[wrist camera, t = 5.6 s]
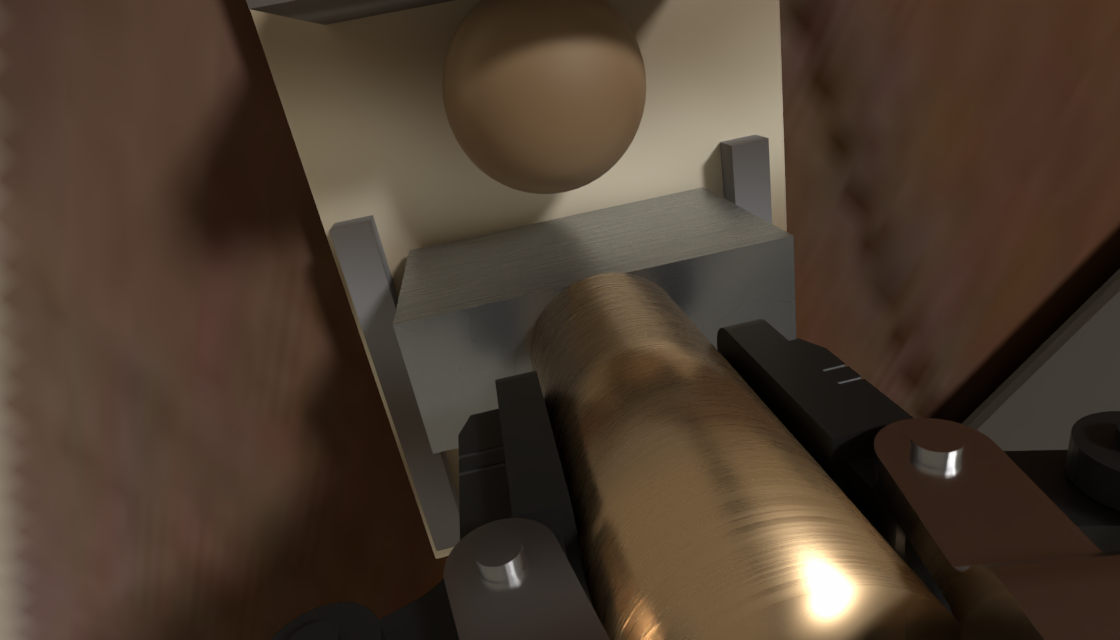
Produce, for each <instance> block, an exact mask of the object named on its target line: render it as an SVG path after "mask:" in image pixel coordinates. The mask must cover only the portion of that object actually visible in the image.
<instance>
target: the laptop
mask: <svg viewBox="0 0 1120 640" xmlns="http://www.w3.org/2000/svg"><path fill="white" fill-rule="evenodd" d="M1107 411H1120V268H1119V269H1118V270H1117V271H1116V272H1115V273H1114V274H1113V275H1112V276H1111V277H1110V278H1109V279H1108V280H1107V281H1106V282H1105V283H1104V284H1103V285H1102V286H1101V287H1100V288H1099V289H1098V290H1097V291H1096V292H1095V293H1094V294H1093V295H1092V296H1091V297H1090V298H1089V299H1088V300H1087V301H1086V302H1085V303H1084V304H1083V305H1082V306H1081V307H1080V308H1079V309H1078V310H1077V311H1076V312H1075V313H1074V314H1073V315H1072V316H1071V317H1070V318H1069V319H1068V320H1067V321H1065V322H1064V323H1063V324H1062V325H1061V326H1060V327H1059V328H1058V329H1057V330H1056V331H1055V332H1054V333H1053V334H1052V335H1051V336H1050V337H1049V338H1048V339H1047V340H1046V341H1045V342H1044V343H1043V344H1042V345H1041V346H1040V347H1039V348H1038V349H1037V350H1036V351H1035V352H1034V353H1033V354H1032V355H1031V356H1030V357H1029V358H1028V359H1027V360H1026V361H1025V362H1024V363H1023V364H1022V365H1021V366H1020V367H1019V368H1018V369H1017V370H1016V371H1015V372H1014V373H1013V374H1012V375H1011V376H1010V377H1008V378H1007V379H1006V380H1005V381H1004V382H1003V383H1002V384H1001V385H1000V386H999V387H998V388H997V389H996V390H995V391H994V392H993V393H992V394H991V395H990V396H989V397H988V398H987V399H986V400H985V401H984V402H983V403H982V404H981V405H980V406H979V407H978V408H977V409H976V410H975V411H974V412H973V413H972V414H971V415H970V416H969V417H968V418H967V419H966V420H965V421H964V422H963V423H962V424H963V425H966V426H969V427H971V428H973V429H975V430H977V431H980V432H981V433H983V434H984V435H986V436H988V437H989V438H990V439H991V440H992V441H994V442H995V443H996V444H997V445H998V446H999V447H1000V448H1001V449H1002V450H1003V451H1030V450H1068V446H1069V440H1070V434H1071V430H1072V427H1073V425H1074V424H1075V423H1076V421H1078V420H1079V419H1081V418H1082V417H1085V416H1087V415H1090V414H1094V413H1099V412H1107Z"/></svg>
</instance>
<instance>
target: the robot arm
mask: <svg viewBox="0 0 1120 640" xmlns="http://www.w3.org/2000/svg"><path fill="white" fill-rule="evenodd" d="M717 350H718V351H719V352H720V353H721V355H722V356H723V357H724V358H725V359H726V360H727V361H728V362H729V364H730V365H731V366H732V367H733V368H734V369H735V370H736V371H737V373H738V374H739V375H740V376H741V377H742V378H743V379H744V380H745V382H746V383H747V384H748V385H749V386H750V387H751V388H752V390H753V391H754V392H755V393H756V394H757V395H758V396H759V397H760V399H761V400H762V401H763V402H764V403H765V404H766V405H767V406H768V408H769V409H770V410H771V411H772V412H773V413H774V414H775V415H776V417H777V418H778V419H779V420H780V421H781V422H782V423H783V424H784V426H785V427H786V428H787V429H788V430H789V431H790V432H791V434H792V435H793V436H794V437H795V438H796V439H797V440H798V441H799V443H800V444H801V445H802V446H803V447H804V448H805V449H806V450H807V452H808V453H809V454H810V455H811V456H812V457H813V458H814V459H815V461H816V462H817V463H818V464H819V465H820V466H821V467H822V468H823V470H824V471H825V472H826V473H827V474H828V475H829V476H830V478H831V479H832V480H833V481H834V482H835V483H836V484H837V485H838V487H839V488H840V489H841V490H842V491H843V492H844V493H845V494H846V496H847V497H848V498H849V499H850V500H851V501H852V502H853V503H854V505H855V506H856V507H857V508H858V509H859V510H860V511H861V512H862V514H863V515H864V516H865V517H866V518H867V519H868V520H869V521H870V523H871V524H872V525H873V526H874V527H875V528H876V529H877V531H878V532H879V533H880V534H881V535H882V536H883V537H884V538H885V540H886V541H887V542H888V543H889V544H890V545H891V546H892V547H893V549H894V550H895V551H896V552H897V553H898V554H899V555H900V556H901V558H902V559H903V560H904V561H905V562H906V563H907V564H908V565H909V567H910V568H911V569H912V570H913V571H914V572H915V573H916V575H917V576H918V577H919V578H920V579H921V580H922V581H923V582H924V584H925V585H926V586H927V587H928V588H929V589H930V590H931V591H932V593H933V594H934V595H935V596H936V597H937V598H938V599H939V600H940V602H941V603H942V604H943V605H944V606H945V607H946V608H947V609H948V611H949V612H950V613H951V614H952V615H953V616H954V617H955V618H956V620H957V621H958V622H959V623H960V625H961V626H962V628H961V637H960V640H1120V411H1107V412H1099V413H1094V414H1090V415H1087V416H1085V417H1082V418H1081V419H1079V420H1078V421H1076V423H1075V424H1074V425H1073V427H1072V430H1071V434H1070V440H1069V446H1068V450H1030V451H1003V450H1002V449H1001V448H1000V447H999V446H998V445H997V444H996V443H995V442H994V441H992V440H991V439H990V438H989V437H988V436H986V435H984V434H983V433H981V432H980V431H977V430H975V429H973V428H971V427H969V426H966V425H963V424H960V423H957V422H953V421H948V420H943V419H935V418H913V417H912V416H910V415H909V414H908V413H907V412H905V411H904V410H903V409H902V408H900V407H899V406H898V405H896V404H895V403H894V402H893V401H891V400H890V399H889V398H888V397H886V396H885V395H884V394H883V393H881V392H880V391H879V390H878V389H876V388H875V387H874V386H873V385H871V384H870V383H869V382H868V381H866V380H865V379H863V380H862V379H861V377H860V375H859V374H857V373H856V372H855V371H854V370H852V369H851V368H850V367H849V366H848V367H846V366H845V363H844V362H842V361H841V360H840V359H839V358H837V357H836V356H835V355H834V354H832V353H831V352H830V351H829V350H827V349H826V348H823V347H820V346H818V345H815V344H812V343H810V342H807V341H804V340H801V339H799V338H798V339H794V340H790V341H789V340H787V339H786V338H785V337H784V336H783V335H782V334H780V333H779V332H778V331H777V330H776V329H775V328H773V327H772V326H771V325H770V324H769V323H768V322H766V321H765V320H764V319H757V320H753V321H749V322H744V323H740V324H736V325H731V326H727V327H723V328H720V329H719V330H718V333H717ZM495 384H496V392H497V399H498V407H499V409H495V410H491V411H486V412H482V413H478V414H474V415H470V417H469V418H468V420H467V422H466V423H465V425H464V427H463V428H462V430H461V432H460V433H459V435H458V446H459V475H460V476H459V516H460V541H459V542H458V543H457V544H456V545H455V547H454V548H453V549H452V551H451V552H450V554H449V556H448V558H447V560H446V563H445V566H444V574H443V575H444V578H443V579H442V580H441V582H439V583H438V584H437V585H436V586H435V587H434V588H433V589H432V590H430V591H429V592H428V593H426V594H425V595H424V596H422V597H421V598H419V599H417V600H416V601H414V602H412V603H410V604H408V605H406V606H405V607H403V608H401V609H399V610H397V611H395V612H393V613H391V614H390V615H388V616H386V617H384V618H382V619H380V620H378V618H377V616H376V615H375V614H374V613H373V612H372V611H371V610H370V609H368V608H367V607H365V606H363V605H360V604H357V603H351V602H339V603H332V604H328V605H324V606H321V607H318V608H315V609H313V610H311V611H308V612H306V613H305V614H303V615H301V616H299V617H297V618H296V619H294V620H293V621H291V622H290V623H288V624H287V625H286V626H285V627H283V628H282V629H281V630H280V631H279V632H277V633H276V634H275V635H274V636H273V637H272V638H271V639H270V640H610V639H609V637H608V635H607V633H606V631H605V629H604V627H603V626H602V624H601V622H600V620H599V618H598V616H597V614H596V612H595V610H594V609H593V607H592V604H591V600H590V596H589V592H588V588H587V584H586V580H585V576H584V569H583V561H582V560H583V556H582V551H581V546H580V542H579V537H578V532H577V528H576V523H575V518H574V514H573V509H572V504H571V500H570V496H569V493H568V489H567V485H566V481H565V477H564V474H563V470H562V466H561V462H560V458H559V455H558V451H557V447H556V443H555V439H554V435H553V432H552V428H551V424H550V420H549V416H548V413H547V409H546V405H545V401H544V397H543V394H542V390H541V386H540V382H539V378H538V375H537V371H531V372H527V373H523V374H518V375H514V376H510V377H505V378H501V379H497V380H495Z"/></svg>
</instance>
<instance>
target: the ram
mask: <svg viewBox="0 0 1120 640" xmlns="http://www.w3.org/2000/svg"><path fill="white" fill-rule="evenodd" d="M757 319H764V320H765V321H766V322H768V323H769V324H770V325H771V326H772V327H773V328H775V329H776V330H777V331H778V332H779V333H780V334H782V335H783V336H784V337H785V338H786V339H787V340H789V341H790V340H794V339H796V309H795V273H794V238H793V235H791V234H789V233H788V232H786V231H784V230H782V229H780V228H778V227H776V226H775V225H773V224H771V223H769V222H767V221H765V220H764V219H762V218H760V217H758V216H756V215H754V214H752V213H751V212H749V211H747V210H745V209H743V208H741V207H739V206H738V205H736V204H734V203H732V202H730V201H728V200H726V199H725V198H723V197H721V196H719V195H717V194H715V193H713V192H712V191H710V190H708V189H706V188H704V187H702V188H697V189H692V190H688V191H683V192H678V193H674V194H669V195H665V196H660V197H655V198H651V199H646V200H641V201H637V202H632V203H627V204H623V205H618V206H613V207H609V208H604V209H599V210H595V211H590V212H585V213H581V214H576V215H571V216H567V217H562V218H558V219H553V220H548V221H544V222H539V223H534V224H530V225H525V226H520V227H516V228H511V229H506V230H502V231H497V232H492V233H488V234H483V235H478V236H474V237H469V238H465V239H460V240H455V241H451V242H446V243H441V244H437V245H432V246H427V247H423V248H418V249H413V250H409V254H408V259H407V263H406V268H405V272H404V277H403V281H402V286H401V290H400V295H399V299H398V304H397V308H396V313H395V317H394V322H393V327H394V330H395V334H396V337H397V340H398V343H399V346H400V350H401V353H402V356H403V359H404V362H405V366H406V369H407V372H408V375H409V378H410V382H411V385H412V388H413V391H414V394H415V398H416V401H417V404H418V407H419V410H420V414H421V417H422V420H423V423H424V426H425V430H426V433H427V436H428V439H429V442H430V446H431V449H432V452H433V454H435V453H439V452H443V451H447V450H451V449H456V448H459V446H458V435H459V433H460V432H461V430H462V428H463V427H464V425H465V423H466V422H467V420H468V418H469V417H470V415H474V414H478V413H482V412H486V411H491V410H495V409H499V407H498V399H497V392H496V384H495V380H497V379H501V378H505V377H510V376H514V375H518V374H523V373H527V372H531V371H537V375H538V378H539V382H540V386H541V390H542V394H543V397H544V401H545V405H546V409H547V413H548V416H549V420H550V424H551V428H552V432H553V435H554V439H555V443H556V447H557V451H558V455H559V458H560V462H561V466H562V470H563V474H564V477H565V481H566V485H567V489H568V493H569V496H570V500H571V504H572V509H573V514H574V518H575V523H576V528H577V532H578V537H579V542H580V546H581V551H582V556H583V560H582V561H583V569H584V576H585V580H586V584H587V588H588V592H589V596H590V600H591V604H592V607H593V609H594V610H595V612H596V614H597V616H598V618H599V620H600V622H601V624H602V626H603V627H604V629H605V631H606V633H607V635H608V637H609V639H610V640H960V637H961V628H962V626H961V625H960V623H959V622H958V621H957V620H956V618H955V617H954V616H953V615H952V614H951V613H950V612H949V611H948V609H947V608H946V607H945V606H944V605H943V604H942V603H941V602H940V600H939V599H938V598H937V597H936V596H935V595H934V594H933V593H932V591H931V590H930V589H929V588H928V587H927V586H926V585H925V584H924V582H923V581H922V580H921V579H920V578H919V577H918V576H917V575H916V573H915V572H914V571H913V570H912V569H911V568H910V567H909V565H908V564H907V563H906V562H905V561H904V560H903V559H902V558H901V556H900V555H899V554H898V553H897V552H896V551H895V550H894V549H893V547H892V546H891V545H890V544H889V543H888V542H887V541H886V540H885V538H884V537H883V536H882V535H881V534H880V533H879V532H878V531H877V529H876V528H875V527H874V526H873V525H872V524H871V523H870V521H869V520H868V519H867V518H866V517H865V516H864V515H863V514H862V512H861V511H860V510H859V509H858V508H857V507H856V506H855V505H854V503H853V502H852V501H851V500H850V499H849V498H848V497H847V496H846V494H845V493H844V492H843V491H842V490H841V489H840V488H839V487H838V485H837V484H836V483H835V482H834V481H833V480H832V479H831V478H830V476H829V475H828V474H827V473H826V472H825V471H824V470H823V468H822V467H821V466H820V465H819V464H818V463H817V462H816V461H815V459H814V458H813V457H812V456H811V455H810V454H809V453H808V452H807V450H806V449H805V448H804V447H803V446H802V445H801V444H800V443H799V441H798V440H797V439H796V438H795V437H794V436H793V435H792V434H791V432H790V431H789V430H788V429H787V428H786V427H785V426H784V424H783V423H782V422H781V421H780V420H779V419H778V418H777V417H776V415H775V414H774V413H773V412H772V411H771V410H770V409H769V408H768V406H767V405H766V404H765V403H764V402H763V401H762V400H761V399H760V397H759V396H758V395H757V394H756V393H755V392H754V391H753V390H752V388H751V387H750V386H749V385H748V384H747V383H746V382H745V380H744V379H743V378H742V377H741V376H740V375H739V374H738V373H737V371H736V370H735V369H734V368H733V367H732V366H731V365H730V364H729V362H728V361H727V360H726V359H725V358H724V357H723V356H722V355H721V353H720V352H719V351H718V350H717V333H718V330H719V329H720V328H723V327H727V326H731V325H736V324H740V323H744V322H749V321H753V320H757Z"/></svg>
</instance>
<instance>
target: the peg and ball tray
mask: <svg viewBox="0 0 1120 640" xmlns="http://www.w3.org/2000/svg"><path fill="white" fill-rule="evenodd" d="M246 2H247V5H248V8H249V9H250V11H251V14H252V17H253V20H254V23H255V26H256V29H257V32H258V35H259V38H260V41H261V44H262V47H263V50H264V53H265V56H266V59H267V62H268V65H269V68H270V71H271V74H272V76H273V79H274V82H275V85H276V88H277V91H278V94H279V97H280V100H281V103H282V106H283V109H284V112H285V115H286V118H287V121H288V124H289V127H290V130H291V133H292V136H293V139H294V141H295V144H296V147H297V150H298V153H299V156H300V159H301V162H302V165H303V168H304V171H305V174H306V177H307V180H308V183H309V186H310V189H311V192H312V195H313V198H314V201H315V204H316V207H317V209H318V212H319V215H320V218H321V221H322V224H323V227H324V230H325V233H326V236H327V239H328V242H329V245H330V248H331V251H332V254H333V257H334V260H335V263H336V266H337V269H338V272H339V275H340V277H341V280H342V283H343V286H344V289H345V292H346V295H347V298H348V301H349V304H350V307H351V310H352V313H353V316H354V319H355V322H356V325H357V328H358V331H359V334H360V337H361V340H362V342H363V345H364V348H365V351H366V354H367V357H368V360H369V363H370V366H371V369H372V372H373V375H374V378H375V381H376V384H377V387H378V390H379V393H380V396H381V399H382V402H383V405H384V408H385V410H386V413H387V416H388V419H389V422H390V425H391V428H392V431H393V434H394V437H395V440H396V443H397V446H398V449H399V452H400V455H401V458H402V461H403V464H404V467H405V470H406V473H407V476H408V478H409V481H410V484H411V487H412V490H413V493H414V496H415V499H416V502H417V505H418V508H419V511H420V514H421V517H422V520H423V523H424V526H425V529H426V532H427V535H428V538H429V541H430V543H431V546H432V549H433V552H434V555H435V558H436V559H438V558H442V557H446V556H449V554H450V552H451V551H452V549H453V548H454V547H455V545H456V544H457V543H458V542H459V541H460V516H459V476H460V475H459V448H456V449H451V450H447V451H443V452H439V453H435V454H433V452H432V449H431V446H430V442H429V439H428V436H427V433H426V430H425V426H424V423H423V420H422V417H421V414H420V410H419V407H418V404H417V401H416V398H415V394H414V391H413V388H412V385H411V382H410V378H409V375H408V372H407V369H406V366H405V362H404V359H403V356H402V353H401V350H400V346H399V343H398V340H397V337H396V334H395V330H394V327H393V322H394V317H395V313H396V308H397V304H398V299H399V295H400V290H401V286H402V281H403V277H404V272H405V268H406V263H407V259H408V254H409V250H413V249H418V248H423V247H427V246H432V245H437V244H441V243H446V242H451V241H455V240H460V239H465V238H469V237H474V236H478V235H483V234H488V233H492V232H497V231H502V230H506V229H511V228H516V227H520V226H525V225H530V224H534V223H539V222H544V221H548V220H553V219H558V218H562V217H567V216H571V215H576V214H581V213H585V212H590V211H595V210H599V209H604V208H609V207H613V206H618V205H623V204H627V203H632V202H637V201H641V200H646V199H651V198H655V197H660V196H665V195H669V194H674V193H678V192H683V191H688V190H692V189H697V188H702V187H704V188H706V189H708V190H710V191H712V192H713V193H715V194H717V195H719V196H721V197H723V198H725V199H726V200H728V201H730V202H732V203H734V204H736V205H738V206H739V207H741V208H743V209H745V210H747V211H749V212H751V213H752V214H754V215H756V216H758V217H760V218H762V219H764V220H765V221H767V222H769V223H771V224H773V225H775V226H776V227H778V228H780V229H782V230H784V231H786V232H787V223H786V193H785V162H784V132H783V101H782V70H781V40H780V9H779V0H246Z"/></svg>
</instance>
